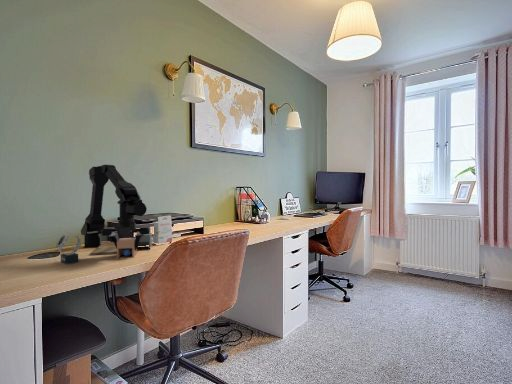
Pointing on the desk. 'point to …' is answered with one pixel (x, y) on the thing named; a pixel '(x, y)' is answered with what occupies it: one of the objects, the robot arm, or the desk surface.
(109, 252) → the walnut mat
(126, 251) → the blue marble
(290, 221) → the desk surface
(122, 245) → the tan open box
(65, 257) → the watch
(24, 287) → the desk surface
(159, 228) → the ink cartridge box
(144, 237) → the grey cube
